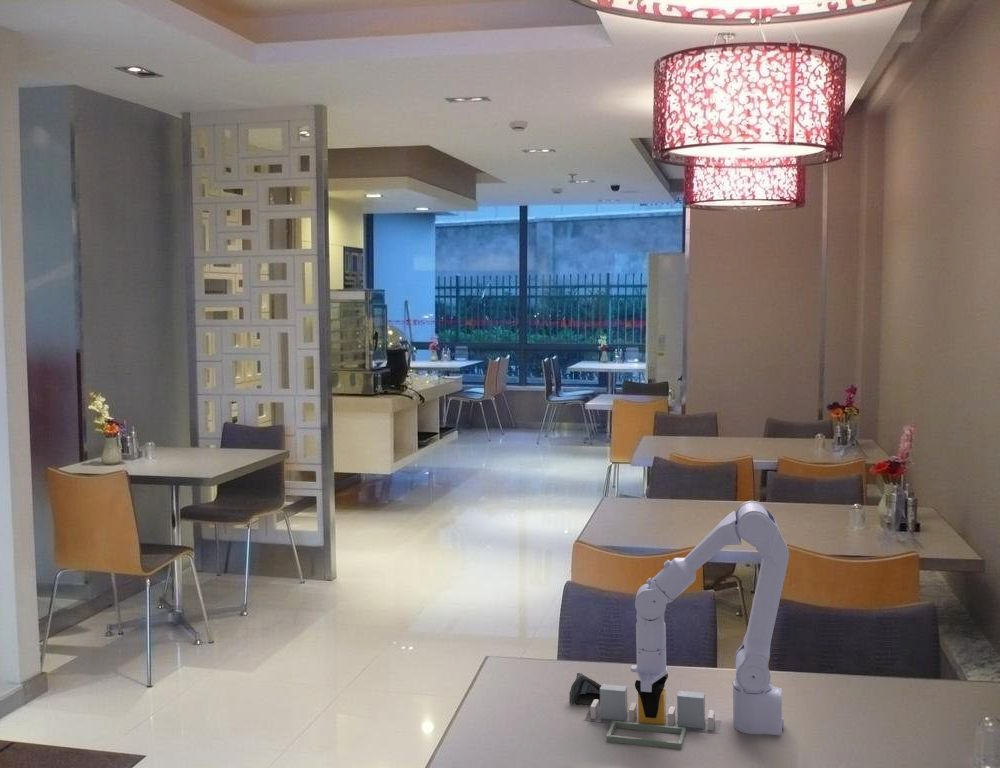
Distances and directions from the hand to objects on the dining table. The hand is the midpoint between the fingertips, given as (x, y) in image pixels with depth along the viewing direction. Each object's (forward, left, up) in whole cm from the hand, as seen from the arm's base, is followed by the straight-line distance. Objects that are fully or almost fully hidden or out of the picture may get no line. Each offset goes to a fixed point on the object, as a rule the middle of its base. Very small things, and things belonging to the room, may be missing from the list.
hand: (652, 713), depth 199 cm
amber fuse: (0, 0, -1) cm, 1 cm away
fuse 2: (-8, 0, -1) cm, 8 cm away
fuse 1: (+8, 0, -1) cm, 8 cm away
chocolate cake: (+12, -8, -3) cm, 14 cm away
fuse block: (0, 0, -2) cm, 2 cm away
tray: (0, +8, -2) cm, 8 cm away
